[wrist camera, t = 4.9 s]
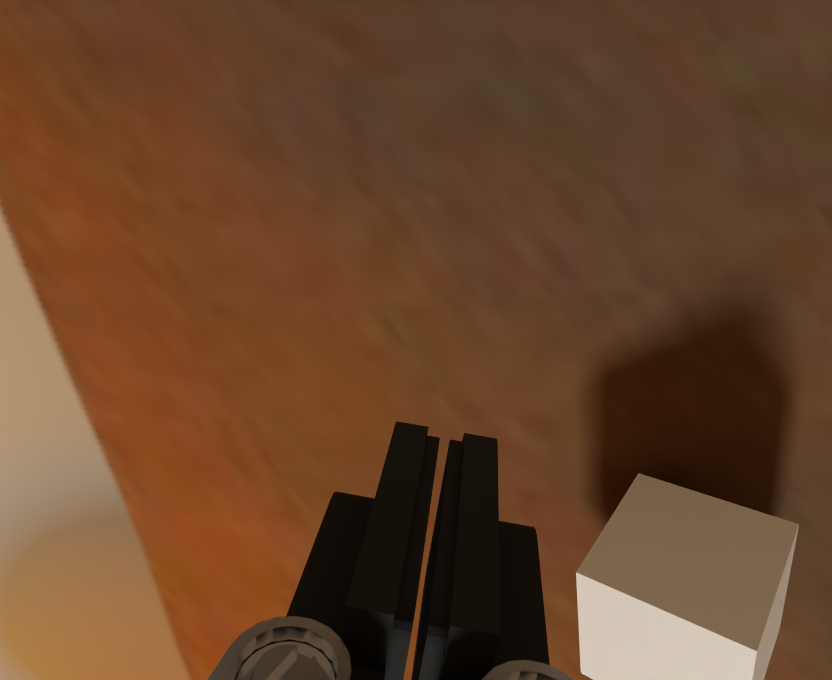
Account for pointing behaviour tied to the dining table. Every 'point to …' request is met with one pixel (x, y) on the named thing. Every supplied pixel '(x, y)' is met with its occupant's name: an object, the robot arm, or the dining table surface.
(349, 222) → the dining table surface
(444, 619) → the robot arm
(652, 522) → the white cube
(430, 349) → the dining table surface
